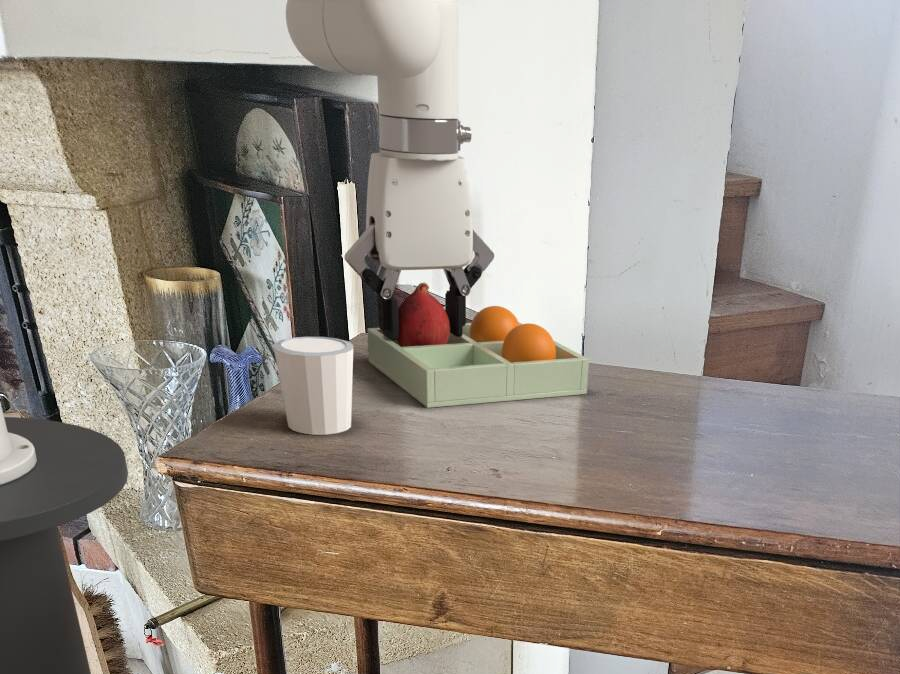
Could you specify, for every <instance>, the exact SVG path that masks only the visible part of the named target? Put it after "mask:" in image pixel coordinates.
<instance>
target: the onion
mask: <svg viewBox="0 0 900 674" xmlns="http://www.w3.org/2000/svg"><path fill="white" fill-rule="evenodd" d="M429 289H430V286H429V285H428V283H426V282H420V283H418V285H417V286H416V287H415V289H414V290H413V292H412V293H410V294H409V295H407V297H405V299H403V301H402V302H401V303H400V305H398V319H399V339H397V341H398V343H399V345H400V346H401V347H409V346H425V345H442V344H446V343H447V341H448V339H449V333H450V323H449V319H448V316H447V314H446V311H445V307H444V306H443V304H441V302H440V301H439V300H438V299H437V298H436V297H434V296H433V295H432V294H431V293H429Z"/></svg>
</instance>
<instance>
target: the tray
mask: <svg viewBox="0 0 900 674" xmlns="http://www.w3.org/2000/svg"><path fill="white" fill-rule="evenodd" d="M471 323H472V322H466V324H465V326H463V335H462V336H461V337H456V336H455V335H453V334H452V333H449V339H448V341H447V343H446V344H442V345H425V346H409V347H401V346H400V345H399V343H398V341H397V340H393V341H392V340H390V339H389V338H388V337H386V336H385V335H384V334H383V331H382V330H380V328H379V327H368V328H367V330H366V331H367V332H366V333H367V352H368V363H369V364H371V365H372V366H373V367H375V368H376V369H377V370H379V371H380V373H382V374H384V375H385V376H386V377H387V378H388V379H390V380H391V381H392V382H394V383H395V384H396V385H398V386H399V387H400V388H401V389H403V390H404V391H405V392H406V393H408V394H409V395H410V396H412V397H413V398H414V399H415V400H417V401H418V402H419V403H420V404H422V405H423V406H424V407H425V408H427V409H432V408H441V407H442V408H443V407H454V406H455V407H456V406H466V405H474V404H475V405H478V404H487V403H488V404H489V403H499V402H500V403H501V402H509V401H510V402H511V401H512V402H513V401H522V400H523V401H524V400H533V399H534V400H535V399H544V398H545V399H547V398H557V397H567V396H568V397H569V396H578V395H587V393H588V380H589V367H590V358H588V357H585V356H584V355H582V354H580V353H578V352H576V351H575V350H573V349H571V348H569V347H567V346H565V345H563V344H561V343H559V342H557V341H555V340H554V339H553V341H554V343H555V348H556V358H555V360H541V361H527V362H513V363H511V362H509V361H507V360H506V359H504V358H502V346H503V342H504V341H491V342H476V341H474V340H473V339H471V338H470V327H471ZM519 324H520V325H521V324H522V323H521V322H519Z"/></svg>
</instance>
